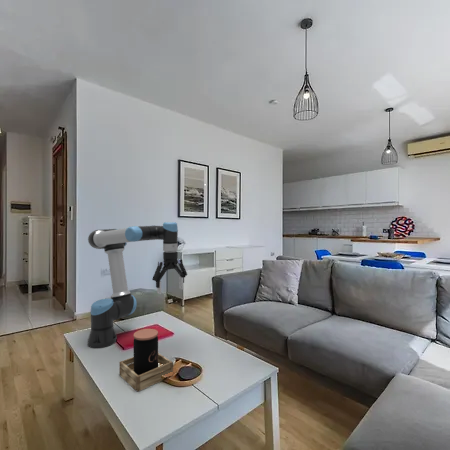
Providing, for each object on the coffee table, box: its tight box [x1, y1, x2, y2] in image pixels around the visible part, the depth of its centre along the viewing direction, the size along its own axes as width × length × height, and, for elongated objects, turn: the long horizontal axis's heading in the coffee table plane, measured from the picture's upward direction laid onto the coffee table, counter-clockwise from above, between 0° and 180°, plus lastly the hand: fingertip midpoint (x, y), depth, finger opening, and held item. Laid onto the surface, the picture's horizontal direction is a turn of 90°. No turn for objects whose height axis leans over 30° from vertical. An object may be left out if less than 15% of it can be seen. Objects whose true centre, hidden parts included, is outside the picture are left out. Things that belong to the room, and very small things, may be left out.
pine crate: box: [118, 352, 174, 392], centre depth 125 cm, size 17×17×6 cm
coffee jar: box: [133, 328, 159, 377], centre depth 124 cm, size 11×11×18 cm
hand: (170, 291), depth 147 cm, fingers open, 13 cm apart
